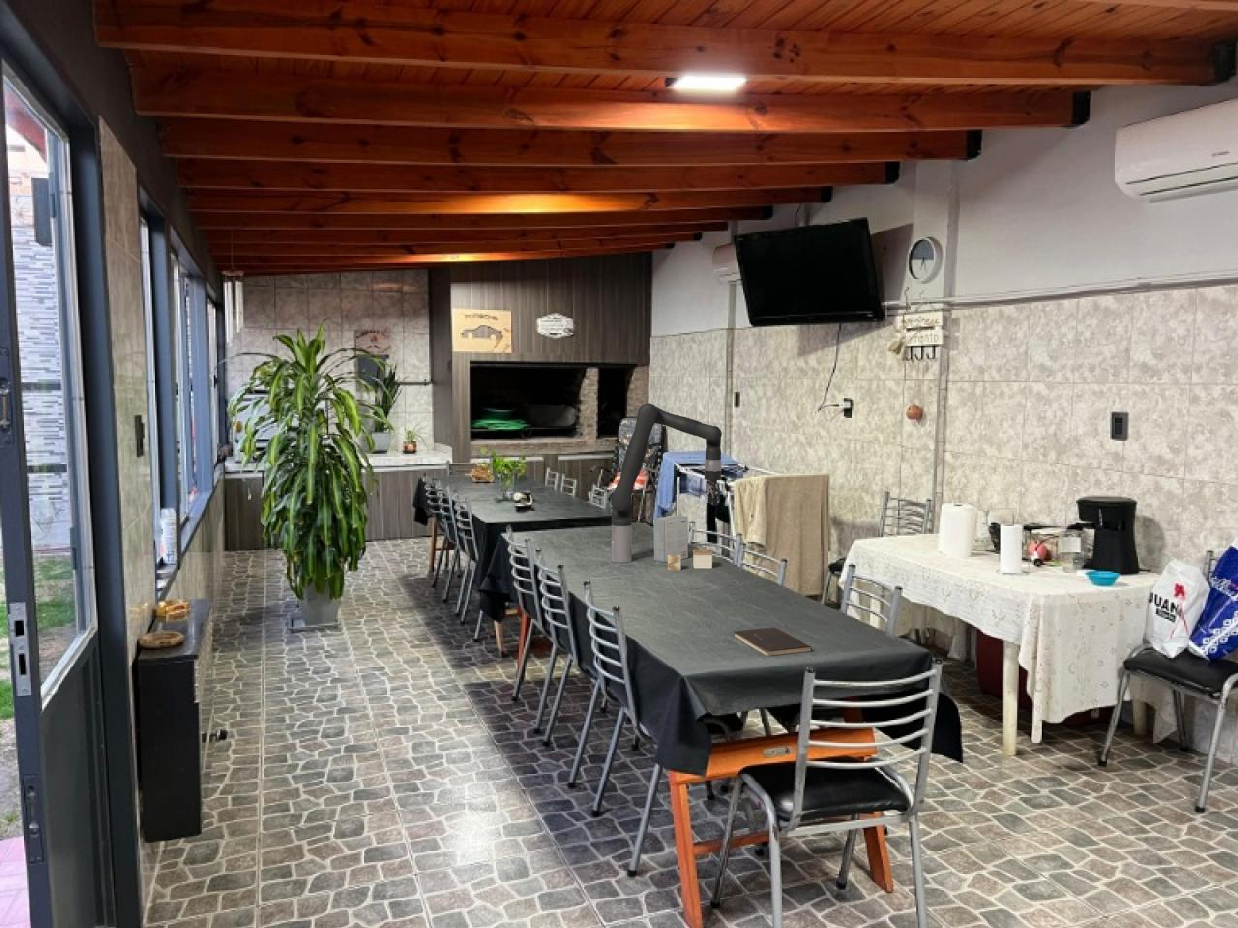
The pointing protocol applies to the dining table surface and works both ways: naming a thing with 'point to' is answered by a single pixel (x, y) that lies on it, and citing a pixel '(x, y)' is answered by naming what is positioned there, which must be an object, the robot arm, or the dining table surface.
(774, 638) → the hardcover book
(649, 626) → the dining table surface
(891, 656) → the dining table surface
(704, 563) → the tea tin
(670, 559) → the beech block
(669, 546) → the hard drive box
